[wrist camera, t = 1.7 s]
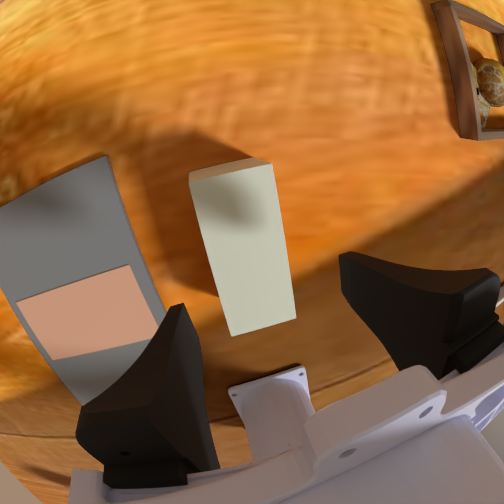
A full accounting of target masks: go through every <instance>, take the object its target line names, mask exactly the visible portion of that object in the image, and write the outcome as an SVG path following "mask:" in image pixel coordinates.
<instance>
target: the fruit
mask: <svg viewBox="0 0 504 504" xmlns="http://www.w3.org/2000/svg"><path fill="white" fill-rule="evenodd" d="M471 65H472V70H473V75H474V80H475V85H476V88H478V90H479V95H478V104H479V111H481V112H482V114H483V117H484V118H485V122H483V120H482V122H483V125H482V123H481V128H482V129H484V128H485V127H486V121H487V117H488V115H489V109H490V106H493V107H501V106H503V105H504V67H503V66H502V65H501V64H500V63H499V62H498V61H495V60H493V59H487V58H482V59H480V60H478V61H477V62H476V63H474V66H475V67H474V66H473V64H472V63H471Z"/></svg>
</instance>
